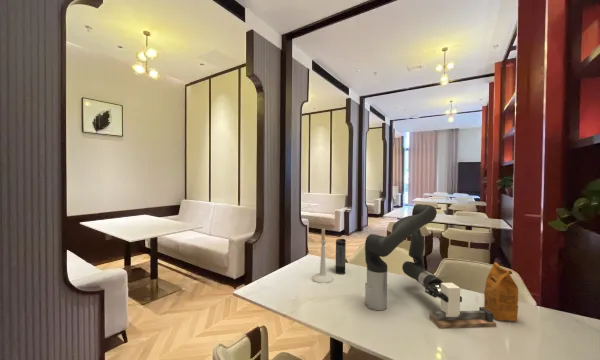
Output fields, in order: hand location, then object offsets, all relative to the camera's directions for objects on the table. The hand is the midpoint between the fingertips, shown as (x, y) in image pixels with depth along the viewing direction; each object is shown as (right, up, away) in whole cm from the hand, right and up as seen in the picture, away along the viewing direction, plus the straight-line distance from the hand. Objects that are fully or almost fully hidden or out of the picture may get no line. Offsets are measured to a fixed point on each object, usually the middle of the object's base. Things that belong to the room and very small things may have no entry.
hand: (454, 299), depth 102 cm
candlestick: (-49, -10, +46) cm, 68 cm away
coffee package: (+26, -11, +9) cm, 30 cm away
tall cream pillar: (0, -7, +3) cm, 8 cm away
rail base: (+5, -11, +3) cm, 12 cm away
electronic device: (-37, -10, +58) cm, 69 cm away
